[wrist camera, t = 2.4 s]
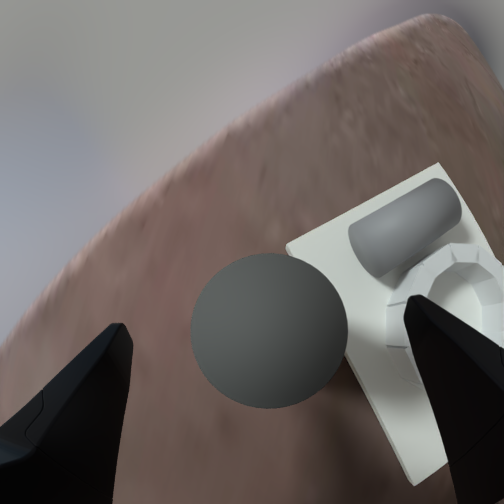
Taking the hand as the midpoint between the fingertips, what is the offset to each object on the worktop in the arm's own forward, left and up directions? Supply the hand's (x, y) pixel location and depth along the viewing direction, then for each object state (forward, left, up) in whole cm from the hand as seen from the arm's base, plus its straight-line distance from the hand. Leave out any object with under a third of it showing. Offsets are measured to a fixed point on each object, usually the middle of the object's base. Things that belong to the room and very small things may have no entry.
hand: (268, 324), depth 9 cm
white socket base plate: (-5, -9, -8) cm, 13 cm away
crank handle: (0, 0, -8) cm, 8 cm away
